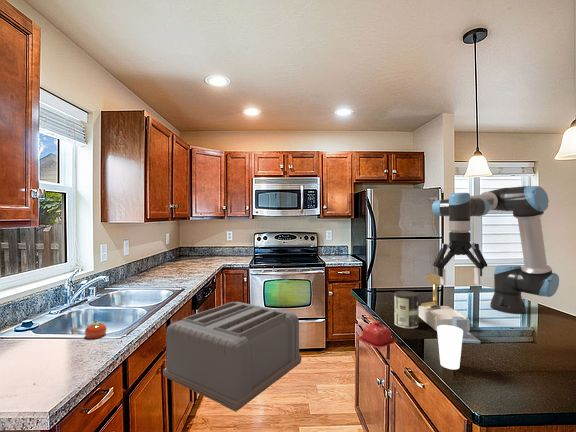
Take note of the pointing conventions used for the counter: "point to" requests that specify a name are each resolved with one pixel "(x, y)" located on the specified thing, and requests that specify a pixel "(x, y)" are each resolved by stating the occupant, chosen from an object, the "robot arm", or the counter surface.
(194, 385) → the toaster
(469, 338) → the cover
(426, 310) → the housing
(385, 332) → the butter dish
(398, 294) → the coffee can
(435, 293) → the l shaped latch
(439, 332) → the cup
